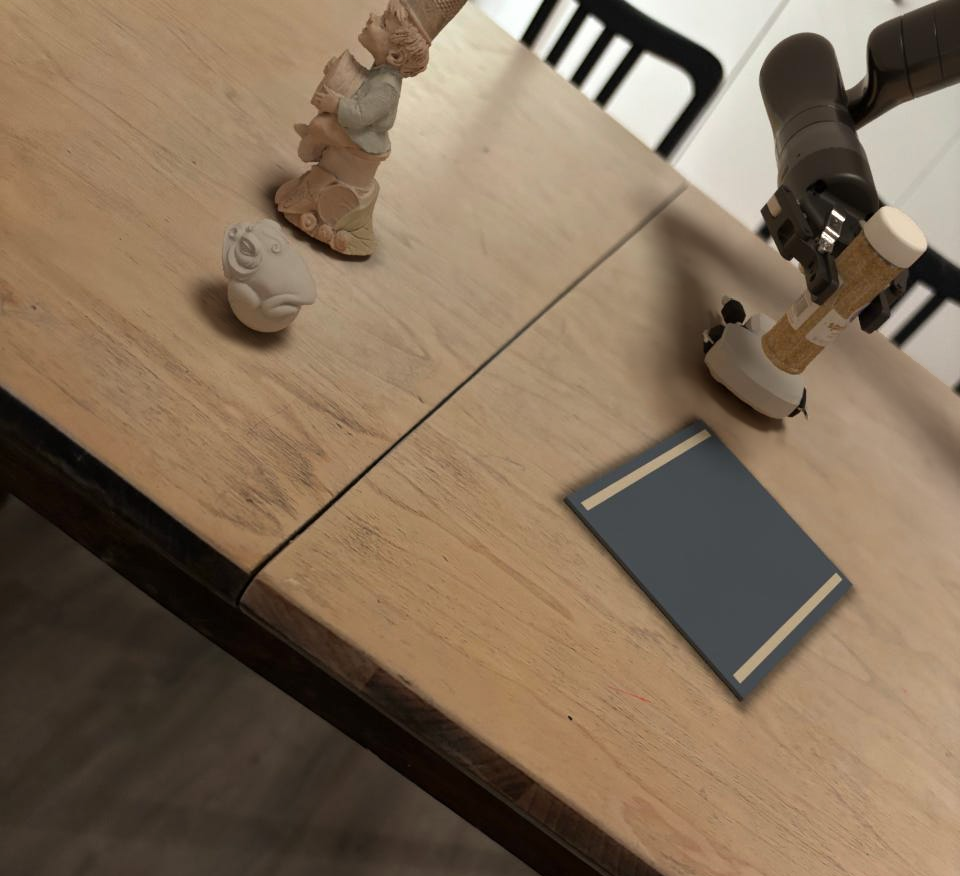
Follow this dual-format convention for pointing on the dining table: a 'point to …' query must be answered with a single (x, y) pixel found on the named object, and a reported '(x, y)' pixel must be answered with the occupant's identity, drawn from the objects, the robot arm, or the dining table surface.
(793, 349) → the sprinkles bottle
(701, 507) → the napkin
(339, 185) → the figurine
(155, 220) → the dining table surface
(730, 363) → the robot toy
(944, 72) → the robot arm
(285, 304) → the frog figurine
